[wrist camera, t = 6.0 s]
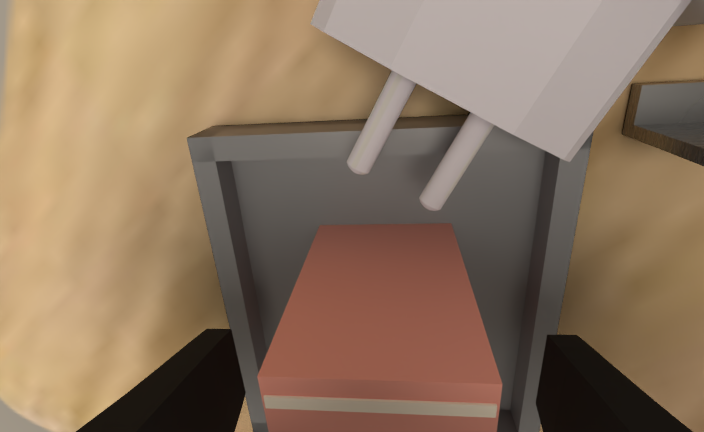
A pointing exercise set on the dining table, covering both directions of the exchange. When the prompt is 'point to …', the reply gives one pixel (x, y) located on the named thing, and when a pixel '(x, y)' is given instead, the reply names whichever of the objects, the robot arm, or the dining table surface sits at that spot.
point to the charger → (501, 66)
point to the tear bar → (668, 117)
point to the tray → (391, 208)
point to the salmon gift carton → (381, 338)
